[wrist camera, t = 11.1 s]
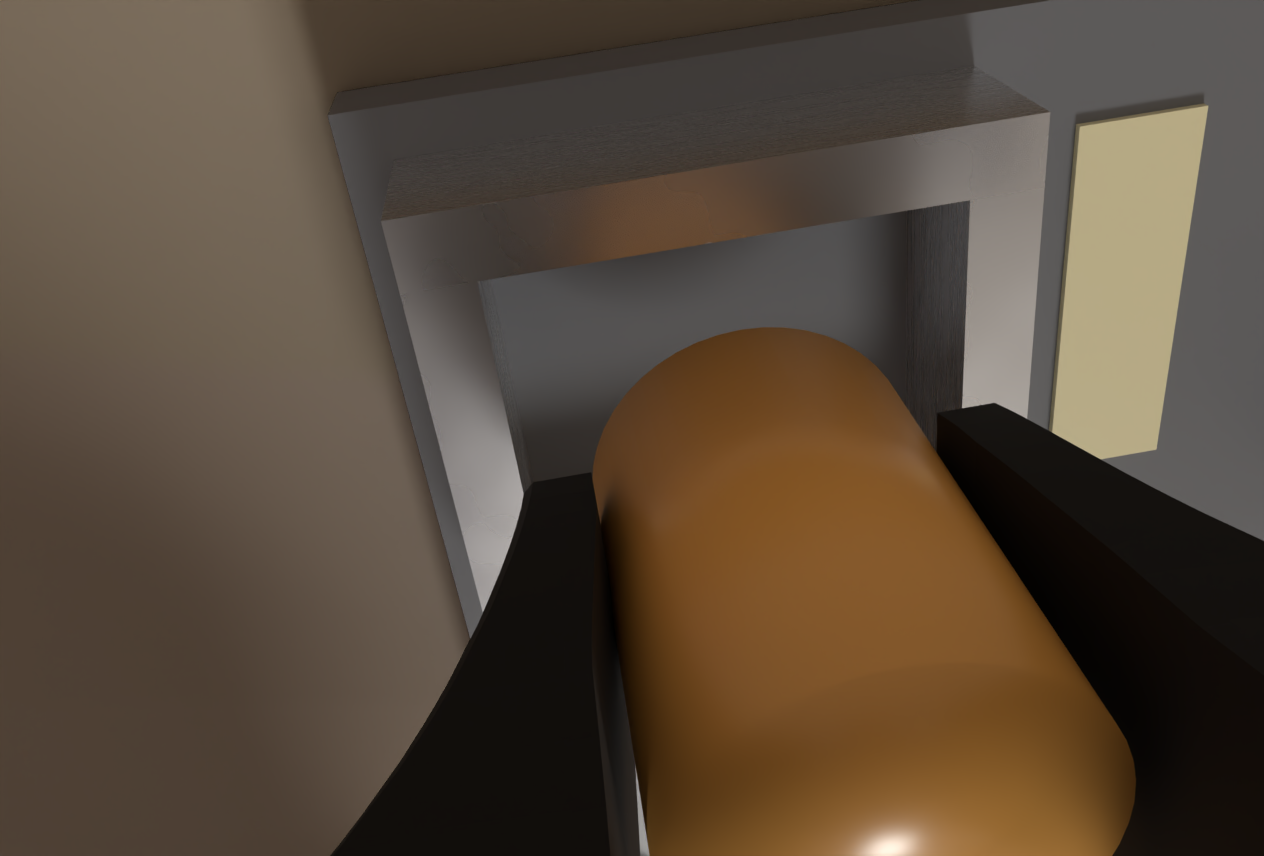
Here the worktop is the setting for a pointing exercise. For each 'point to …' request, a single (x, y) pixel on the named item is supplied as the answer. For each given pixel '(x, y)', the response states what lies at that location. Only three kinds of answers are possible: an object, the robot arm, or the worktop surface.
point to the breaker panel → (898, 230)
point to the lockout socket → (718, 211)
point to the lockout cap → (832, 626)
